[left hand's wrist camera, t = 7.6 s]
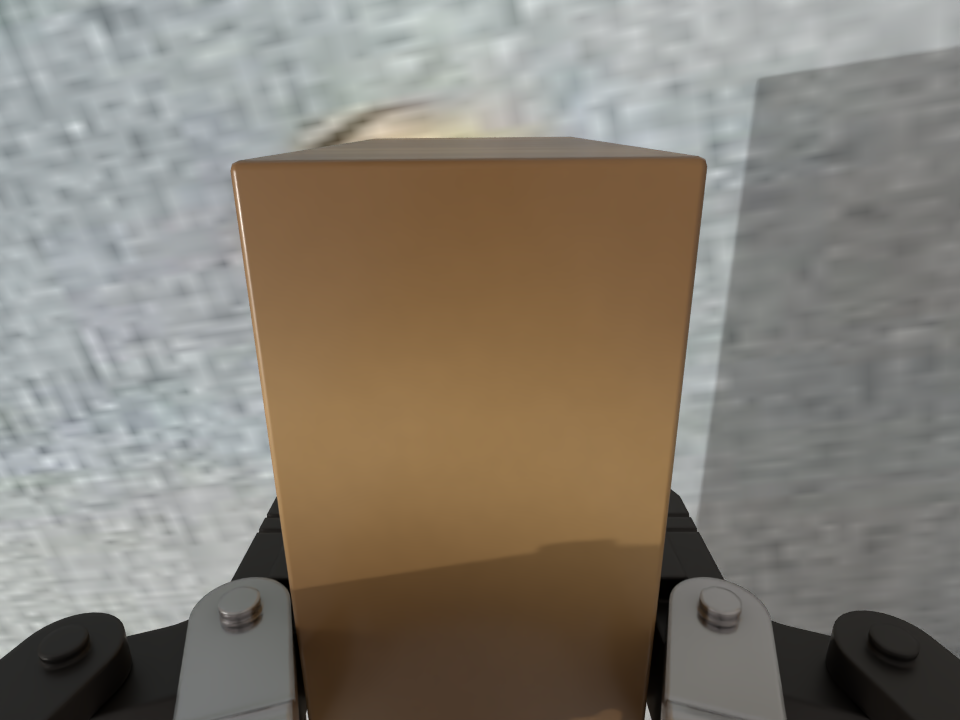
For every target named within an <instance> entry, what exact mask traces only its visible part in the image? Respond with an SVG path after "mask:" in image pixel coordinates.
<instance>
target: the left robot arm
mask: <svg viewBox="0 0 960 720" xmlns="http://www.w3.org/2000/svg"><path fill="white" fill-rule="evenodd" d="M646 702H647V705H648V709H649V712H650V716H651V719H652V720H960V659H958V658H957V657H956V656H955V655H953V654H952V653H951V652H950V651H948V650H947V649H946V648H945V647H943V646H942V645H941V644H940V643H938V642H937V641H936V640H934V639H933V638H932V637H931V636H929V635H928V634H926V633H925V632H924V631H922V630H921V629H919V628H917V627H916V626H914V625H912V624H910V623H908V622H906V621H904V620H901V619H899V618H896V617H894V616H890V615H887V614H884V613H879V612H873V611H853V612H848V613H846V614H843V615H842V616H840V617H839V618H838V619H837V620H836V621H835V624H834V626H833V630H832V634H831V636H828V635H824V634H820V633H816V632H811V631H807V630H803V629H799V628H794V627H790V626H786V625H783V624H779V623H776V622H774V621H771V618H770V614H769V612H768V610H767V608H766V607H765V606H764V604H763V603H762V602H761V601H760V600H759V599H758V598H757V597H756V596H755V595H753V594H752V593H751V592H749V591H748V590H746V589H744V588H743V587H741V586H739V585H736V584H734V583H731V582H729V581H726V580H724V579H723V577H722V575H721V573H720V571H719V569H718V567H717V565H716V564H715V562H714V560H713V558H712V556H711V554H710V552H709V550H708V549H707V547H706V545H705V543H704V541H703V539H702V537H701V535H700V533H699V532H697V528H696V526H695V524H694V522H693V520H692V518H691V517H689V513H688V511H687V509H686V507H685V505H684V503H683V501H682V500H681V498H680V496H679V495H678V494H676V493H675V492H674V491H673V490H670V499H669V508H668V516H667V525H666V534H665V543H664V552H663V560H662V569H661V578H660V587H659V596H658V604H657V613H656V622H655V631H654V640H653V649H652V657H651V666H650V675H649V684H648V693H647V701H646ZM306 711H307V704H306V697H305V690H304V683H303V676H302V669H301V662H300V655H299V648H298V641H297V634H296V627H295V620H294V613H293V606H292V599H291V592H290V585H289V578H288V571H287V564H286V557H285V550H284V543H283V536H282V529H281V522H280V515H279V508H278V500H277V497H276V499H275V501H274V502H273V504H272V506H271V508H270V510H269V512H268V514H267V518H265V519H264V521H263V523H262V525H261V527H260V528H259V533H257V534H256V536H255V538H254V540H253V541H252V543H251V545H250V547H249V549H248V551H247V553H246V554H245V556H244V558H243V560H242V562H241V564H240V566H239V567H238V569H237V571H236V573H235V575H234V577H233V579H232V580H231V582H229V583H226V584H224V585H221V586H219V587H217V588H216V589H214V590H212V591H211V592H209V593H208V594H207V595H205V596H204V597H203V598H202V599H201V600H200V601H199V602H198V603H197V604H196V606H195V607H194V608H193V610H192V612H191V614H190V617H189V620H187V621H184V622H181V623H179V624H176V625H172V626H169V627H165V628H161V629H157V630H152V631H148V632H144V633H140V634H135V635H131V636H127V637H126V633H125V629H124V626H123V623H122V622H121V621H120V620H119V619H118V618H116V617H115V616H113V615H110V614H106V613H83V614H78V615H74V616H70V617H67V618H64V619H61V620H59V621H56V622H54V623H52V624H50V625H48V626H46V627H44V628H42V629H40V630H39V631H37V632H35V633H34V634H32V635H31V636H30V637H28V638H27V639H25V640H24V641H23V642H22V643H20V644H19V645H18V646H17V647H15V648H14V649H13V650H12V651H10V652H9V653H8V654H7V655H5V656H4V657H3V658H2V659H0V720H307V719H306Z"/></svg>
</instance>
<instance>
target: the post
mask: <svg viewBox="0 0 960 720" xmlns="http://www.w3.org/2000/svg"><path fill="white" fill-rule="evenodd" d="M706 173H707V164H706V161H705V159H703V158H701V157H699V156H693V155H687V154H680V153H673V152H667V151H660V150H654V149H647V148H641V147H634V146H627V145H621V144H614V143H608V142H601V141H595V140H588V139H581V138H575V137H503V138H397V139H371V140H365V141H358V142H352V143H346V144H340V145H333V146H327V147H321V148H315V149H308V150H302V151H296V152H290V153H283V154H277V155H271V156H265V157H259V158H252V159H246V160H240V161H237V162H235V163H233V164H232V167H231V178H232V185H233V192H234V199H235V206H236V213H237V220H238V227H239V234H240V241H241V248H242V255H243V262H244V269H245V276H246V283H247V290H248V297H249V304H250V311H251V318H252V325H253V332H254V339H255V346H256V353H257V360H258V367H259V374H260V381H261V388H262V395H263V402H264V409H265V416H266V423H267V430H268V437H269V444H270V451H271V458H272V465H273V472H274V479H275V486H276V493H277V500H278V508H279V515H280V522H281V529H282V536H283V543H284V550H285V557H286V564H287V571H288V578H289V585H290V592H291V599H292V606H293V613H294V620H295V627H296V634H297V641H298V648H299V655H300V662H301V669H302V676H303V683H304V690H305V697H306V704H307V711H308V718H309V720H644V719H645V710H646V701H647V693H648V684H649V675H650V666H651V657H652V649H653V640H654V631H655V622H656V613H657V604H658V596H659V587H660V578H661V569H662V560H663V552H664V543H665V534H666V525H667V516H668V508H669V499H670V490H671V481H672V472H673V464H674V455H675V446H676V437H677V428H678V419H679V411H680V402H681V393H682V384H683V375H684V367H685V358H686V349H687V340H688V331H689V323H690V314H691V305H692V296H693V287H694V278H695V270H696V261H697V252H698V243H699V234H700V226H701V217H702V208H703V199H704V190H705V182H706Z"/></svg>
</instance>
